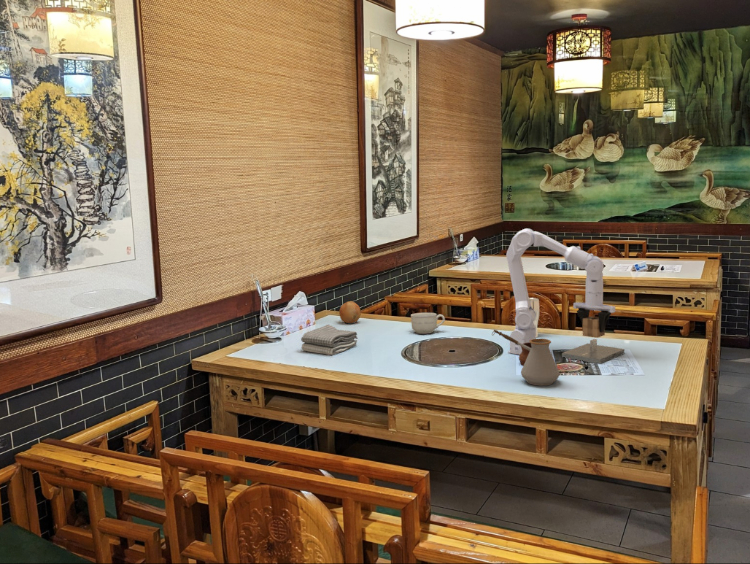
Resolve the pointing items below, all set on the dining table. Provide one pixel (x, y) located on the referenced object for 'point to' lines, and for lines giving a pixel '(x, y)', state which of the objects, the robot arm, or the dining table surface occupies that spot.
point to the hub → (593, 352)
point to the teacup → (425, 322)
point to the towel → (328, 340)
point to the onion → (350, 312)
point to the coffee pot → (537, 362)
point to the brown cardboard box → (592, 327)
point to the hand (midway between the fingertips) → (593, 330)
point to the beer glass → (535, 307)
